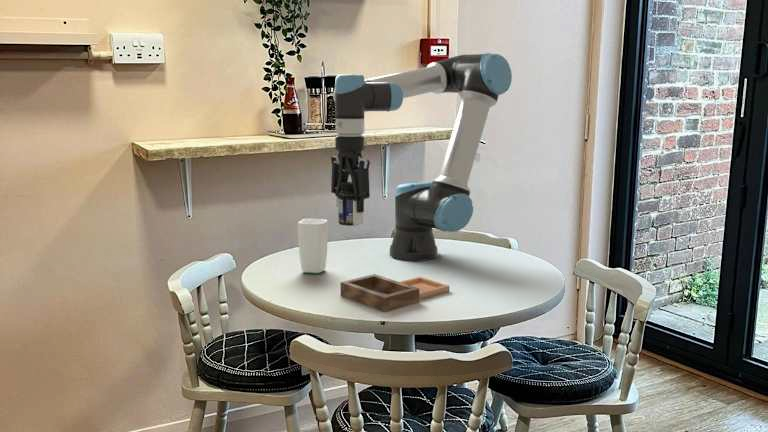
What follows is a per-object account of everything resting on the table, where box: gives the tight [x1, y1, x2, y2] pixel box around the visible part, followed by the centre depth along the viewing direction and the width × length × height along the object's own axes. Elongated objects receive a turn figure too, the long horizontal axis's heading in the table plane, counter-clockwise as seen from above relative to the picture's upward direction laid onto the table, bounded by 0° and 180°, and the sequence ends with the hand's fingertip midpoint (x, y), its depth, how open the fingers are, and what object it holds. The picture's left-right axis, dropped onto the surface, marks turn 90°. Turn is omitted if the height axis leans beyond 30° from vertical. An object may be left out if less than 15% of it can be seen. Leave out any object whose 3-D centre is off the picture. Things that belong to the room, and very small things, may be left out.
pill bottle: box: [337, 181, 356, 227], centre depth 179 cm, size 6×6×11 cm
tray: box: [400, 276, 450, 301], centre depth 177 cm, size 11×11×2 cm
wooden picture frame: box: [339, 273, 420, 313], centre depth 170 cm, size 17×12×4 cm
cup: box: [297, 218, 329, 275], centre depth 193 cm, size 7×7×15 cm
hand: (350, 222), depth 180 cm, fingers closed on pill bottle, 6 cm apart
